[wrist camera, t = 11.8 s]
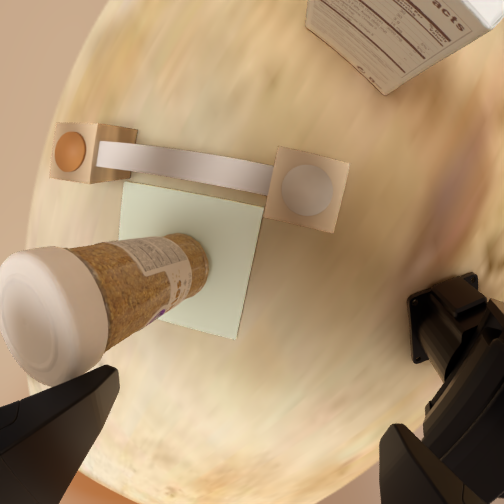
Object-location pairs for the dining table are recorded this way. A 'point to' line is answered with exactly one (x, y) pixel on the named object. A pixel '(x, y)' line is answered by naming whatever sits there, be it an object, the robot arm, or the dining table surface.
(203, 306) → the pad
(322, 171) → the handrail
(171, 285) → the sprinkles bottle
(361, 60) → the supplement box
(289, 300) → the dining table surface
